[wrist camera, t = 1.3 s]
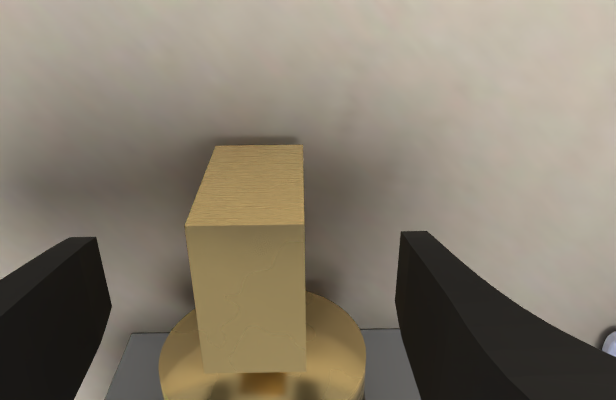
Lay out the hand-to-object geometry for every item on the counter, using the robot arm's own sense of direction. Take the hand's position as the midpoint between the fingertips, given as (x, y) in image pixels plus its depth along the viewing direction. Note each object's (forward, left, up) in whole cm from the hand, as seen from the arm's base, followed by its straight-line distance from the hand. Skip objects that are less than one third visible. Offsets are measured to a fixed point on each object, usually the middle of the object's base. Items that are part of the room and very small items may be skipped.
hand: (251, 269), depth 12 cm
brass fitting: (0, +6, -4) cm, 7 cm away
